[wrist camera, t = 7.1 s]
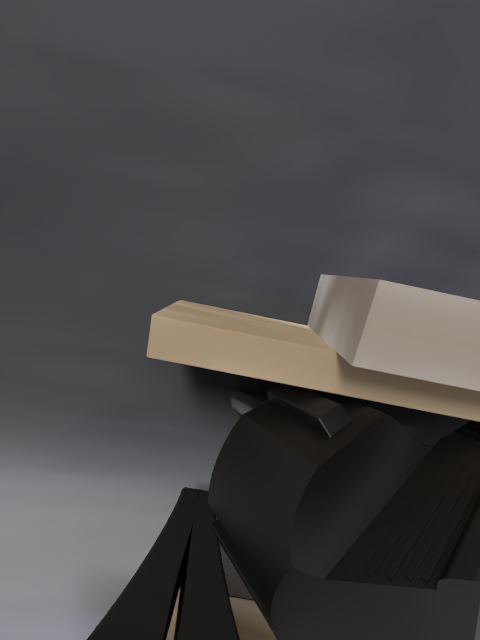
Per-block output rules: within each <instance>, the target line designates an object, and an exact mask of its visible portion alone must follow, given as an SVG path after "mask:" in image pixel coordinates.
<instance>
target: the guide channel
mask: <svg viewBox="0 0 480 640" xmlns="http://www.w3.org/2000/svg"><path fill="white" fill-rule="evenodd" d="M147 357H150V358H155V359H160V360H165V361H171V362H176V363H181V364H186V365H191V366H196V367H201V368H206V369H212V370H217V371H222V372H227V373H232V374H237V375H242V376H248V377H253V378H258V379H263V380H268V381H273V382H278V383H284V384H289V385H294V386H299V387H304V388H309V389H314V390H320V391H325V392H330V393H335V394H340V395H345V396H350V397H356V398H361V399H366V400H371V401H376V402H381V403H386V404H392V405H397V406H402V407H407V408H412V409H417V410H422V411H427V412H433V413H438V414H443V415H448V416H453V417H458V418H463V419H469V420H474V421H479V422H480V301H479V300H474V299H469V298H464V297H460V296H455V295H450V294H445V293H441V292H436V291H431V290H427V289H422V288H417V287H412V286H408V285H403V284H398V283H393V282H389V281H384V280H379V279H367V278H355V277H344V276H332V275H321V276H320V280H319V284H318V287H317V291H316V295H315V299H314V302H313V306H312V310H311V313H310V317H309V321H308V325H307V326H306V325H301V324H296V323H291V322H287V321H282V320H277V319H272V318H267V317H262V316H257V315H252V314H247V313H242V312H237V311H232V310H227V309H222V308H218V307H213V306H208V305H203V304H198V303H193V302H188V301H183V300H179V301H177V302H175V303H174V304H172V305H170V306H168V307H166V308H164V309H162V310H160V311H158V312H156V313H154V314H152V319H151V327H150V335H149V342H148V350H147ZM179 594H180V589H179V593H178V597H177V600H176V604H175V608H174V612H173V616H172V619H171V623H170V627H169V631H168V635H167V639H166V640H174V633H175V625H176V617H177V609H178V602H179ZM229 598H230V602H231V606H232V610H233V615H234V618H235V622H236V626H237V630H238V634H239V637H240V640H277V639H276V638H275V636H274V634H273V632H272V630H271V629H270V627H269V625H268V624H267V622H266V620H265V619H264V617H263V615H262V613H261V612H260V610H259V608H258V607H257V605H256V603H255V601H252V600H246V599H240V598H234V597H229Z"/></svg>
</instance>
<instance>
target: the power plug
mask: <svg viewBox="0 0 480 640" xmlns="http://www.w3.org/2000/svg"><path fill="white" fill-rule="evenodd" d="M230 404H231V406H232V408H233V409H234V410H236V411H237V412H238V413H240V414H241V415H242V417H241V418H240V419H239V420H238V422H237V423H236V424H235V426H234V427H233V429H232V430H231V432H230V434H229V435H228V437H227V439H226V441H225V443H224V444H223V447H222V449H221V451H220V453H219V455H218V458H217V460H216V463H215V466H214V469H213V473H212V477H211V481H210V487H209V494H208V504H209V506H210V507H211V509H212V510H213V512H214V513H215V515H216V517H217V518H218V520H217V521H215V522H214V523H212V525H211V527H212V529H213V532H214V534H215V536H216V537H217V539H218V541H219V542H220V544H221V546H222V547H223V549H224V551H225V552H226V554H227V556H228V557H229V559H230V560H231V562H232V564H233V566H234V567H235V569H236V571H237V572H238V574H239V576H240V578H241V579H242V581H243V583H244V584H245V586H246V588H247V589H248V591H249V593H250V595H251V596H252V598H253V600H254V601H255V603H256V605H257V607H258V608H259V610H260V612H261V613H262V615H263V617H264V619H265V620H266V622H267V624H268V625H269V627H270V629H271V630H272V632H273V634H274V636H275V638H276V639H277V640H480V422H479V421H474V420H472V421H470V422H469V423H468V424H465V425H464V426H462V427H461V428H458V429H457V430H455V431H454V432H452V433H450V434H448V435H447V436H445V437H443V438H441V439H440V440H439V441H438V442H437V443H436V444H435V445H434V446H426V445H424V444H421V443H420V442H418V441H417V440H416V439H415V438H414V437H412V436H411V435H410V434H409V433H408V432H407V431H406V429H405V428H404V427H403V426H402V425H401V424H400V423H399V422H398V421H397V420H396V419H395V418H393V417H392V416H390V415H388V414H386V413H384V412H381V411H379V410H376V409H374V408H371V407H369V406H366V405H364V404H361V403H359V402H357V401H354V400H352V399H349V398H347V397H344V396H342V395H339V394H335V393H330V392H325V391H320V390H314V389H309V388H304V387H299V386H294V385H289V384H282V385H279V386H277V387H275V388H273V389H271V390H269V391H268V402H266V403H264V404H262V403H260V402H259V401H257V400H255V399H254V398H252V397H251V396H249V395H247V394H246V393H244V392H241V391H238V392H235V393H234V394H233V395H232V396H231V400H230Z"/></svg>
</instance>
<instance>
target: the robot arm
mask: <svg viewBox="0 0 480 640" xmlns="http://www.w3.org/2000/svg"><path fill="white" fill-rule="evenodd" d="M208 494H209V491H204V490H198V489H192V488H186V487H185V488H183V489H182V491H181V494H180V496H179V499H178V501H177V503H176V505H175V507H174V510H173V512H172V513H171V515H170V517H169V519H168V521H167V523H166V525H165V526H164V528H163V530H162V531H161V533H160V535H159V537H158V538H157V540H156V542H155V544H154V545H153V547H152V548H151V550H150V552H149V553H148V555H147V556H146V558H145V559H144V561H143V562H142V564H141V565H140V567H139V569H138V570H137V572H136V573H135V575H134V576H133V578H132V579H131V580H130V582H129V583H128V585H127V586H126V588H125V589H124V591H123V592H122V593H121V595H120V596H119V598H118V599H117V600H116V602H115V603H114V604H113V606H112V607H111V609H110V610H109V611H108V613H107V614H106V615H105V617H104V618H103V619H102V621H101V622H100V623H99V624H98V626H97V627H96V628H95V630H94V631H93V632H92V634H91V635H90V636H89V637H88V639H87V640H166V639H167V635H168V631H169V627H170V623H171V619H172V616H173V612H174V608H175V604H176V600H177V597H178V593H179V589H180V594H179V602H178V609H177V617H176V625H175V633H174V640H240V637H239V634H238V630H237V626H236V622H235V618H234V615H233V610H232V606H231V602H230V598H229V593H228V589H227V584H226V579H225V574H224V569H223V564H222V558H221V552H220V546H219V541H218V539H217V537H216V536H215V534H214V532H213V529H212V527H211V525H212V523H214V522H215V521H216V515H215V513H214V512H213V510H212V509H211V507H210V506H209V504H208ZM180 585H181V586H180Z"/></svg>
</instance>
